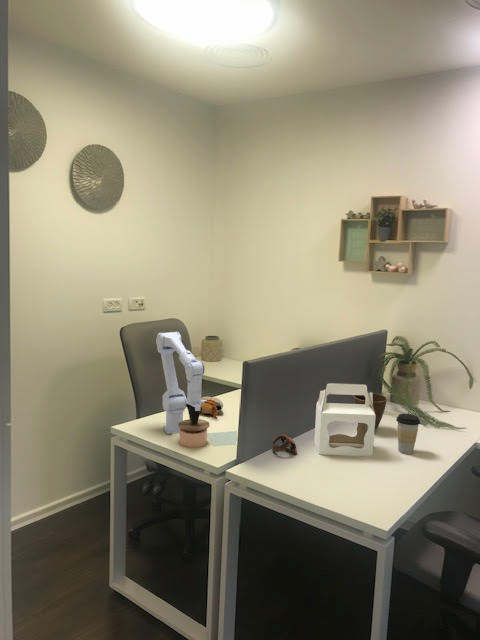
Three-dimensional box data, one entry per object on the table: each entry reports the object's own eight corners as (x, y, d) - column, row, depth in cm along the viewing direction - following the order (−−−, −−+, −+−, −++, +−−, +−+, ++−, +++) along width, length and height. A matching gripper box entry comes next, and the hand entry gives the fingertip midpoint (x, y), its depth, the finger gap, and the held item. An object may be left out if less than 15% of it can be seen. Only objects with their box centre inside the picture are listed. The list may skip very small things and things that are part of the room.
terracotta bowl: (177, 439, 214) (177, 425, 214) (202, 437, 218) (203, 423, 217) (182, 449, 204) (183, 434, 203) (209, 446, 207) (209, 432, 207)
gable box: (365, 444, 216) (370, 380, 213) (373, 456, 203) (378, 389, 200) (313, 442, 216) (317, 378, 213) (318, 454, 203) (322, 387, 200)
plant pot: (391, 434, 230) (394, 400, 227) (363, 437, 224) (366, 402, 222) (371, 423, 243) (373, 391, 241) (345, 426, 238) (347, 393, 236)
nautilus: (228, 422, 240) (196, 424, 237) (220, 405, 260) (191, 408, 257) (227, 406, 238) (196, 409, 235) (220, 391, 259) (191, 393, 256)
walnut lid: (175, 421, 214) (175, 414, 214) (205, 419, 218) (205, 412, 218) (181, 432, 202) (181, 424, 201) (212, 429, 206) (213, 421, 205)
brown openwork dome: (299, 458, 200) (290, 443, 197) (277, 466, 202) (268, 450, 199) (298, 440, 211) (290, 425, 208) (277, 448, 213) (269, 432, 210)
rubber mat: (204, 434, 221) (204, 433, 221) (237, 432, 226) (237, 430, 225) (213, 447, 207) (213, 446, 207) (247, 444, 211) (248, 443, 211)
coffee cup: (402, 456, 204) (405, 421, 202) (389, 447, 213) (392, 413, 211) (422, 455, 207) (425, 419, 205) (408, 446, 216) (411, 412, 214)
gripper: (208, 395, 202) (207, 427, 204) (199, 385, 216) (199, 416, 218) (190, 395, 200) (190, 428, 202) (183, 386, 214) (183, 417, 216)
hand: (193, 422), depth 210 cm, fingers closed on walnut lid, 3 cm apart
